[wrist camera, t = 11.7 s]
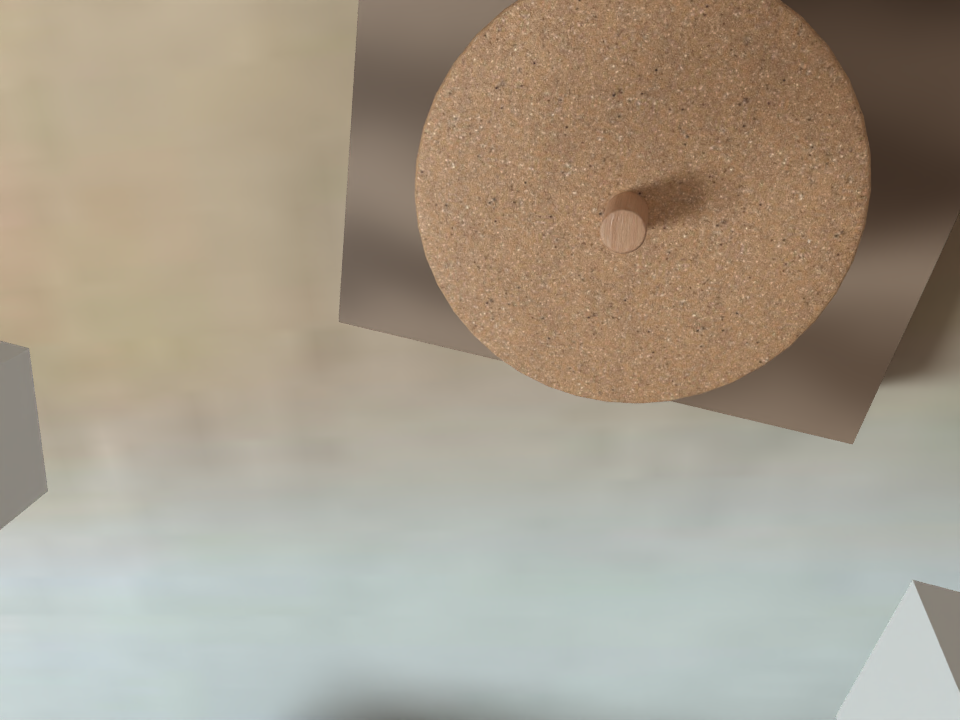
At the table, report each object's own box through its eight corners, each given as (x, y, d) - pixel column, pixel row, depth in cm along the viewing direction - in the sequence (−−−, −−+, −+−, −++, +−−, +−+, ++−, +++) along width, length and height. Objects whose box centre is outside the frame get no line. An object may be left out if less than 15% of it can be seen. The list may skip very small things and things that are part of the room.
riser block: (832, 392, 31) (871, 492, 25) (372, 286, 34) (307, 354, 28) (1051, -118, 23) (1188, -150, 17) (414, -208, 25) (333, -265, 19)
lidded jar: (852, -35, 22) (962, -40, 13) (780, 314, 26) (827, 466, 18) (482, -40, 24) (381, -46, 15) (478, 285, 28) (399, 410, 20)
